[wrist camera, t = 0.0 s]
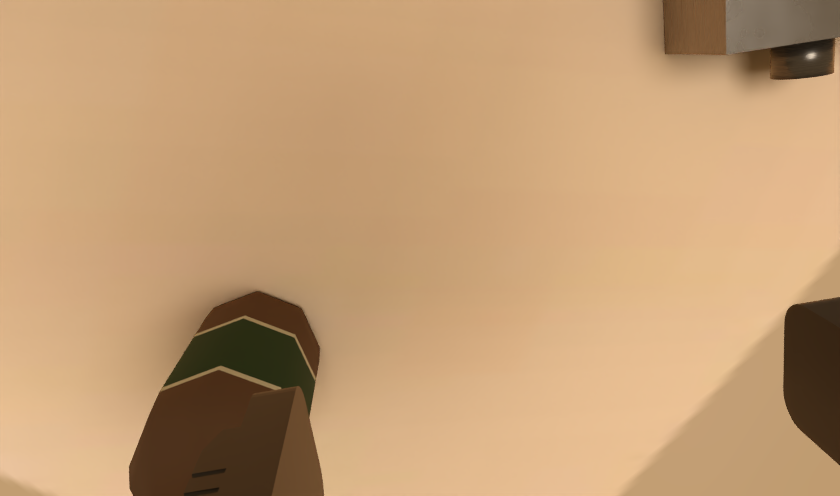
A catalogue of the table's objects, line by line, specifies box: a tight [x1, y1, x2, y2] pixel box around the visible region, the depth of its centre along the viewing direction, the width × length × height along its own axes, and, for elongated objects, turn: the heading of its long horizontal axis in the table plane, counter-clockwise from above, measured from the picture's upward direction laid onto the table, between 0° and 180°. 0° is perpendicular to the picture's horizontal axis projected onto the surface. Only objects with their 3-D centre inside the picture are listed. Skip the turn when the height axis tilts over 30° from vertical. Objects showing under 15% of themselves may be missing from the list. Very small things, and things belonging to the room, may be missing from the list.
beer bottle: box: [129, 292, 320, 496], centre depth 31 cm, size 8×8×24 cm
